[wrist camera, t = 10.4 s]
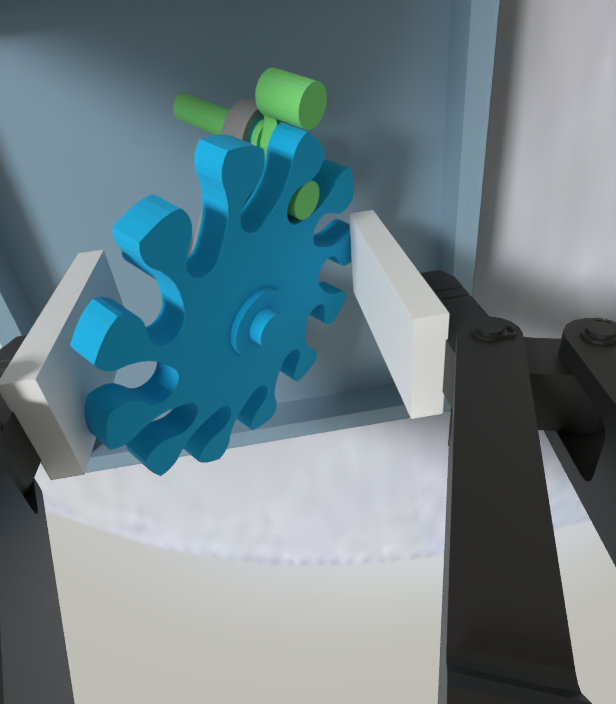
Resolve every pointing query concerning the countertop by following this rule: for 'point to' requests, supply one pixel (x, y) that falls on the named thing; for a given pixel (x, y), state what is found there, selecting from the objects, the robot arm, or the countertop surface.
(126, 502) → the countertop surface
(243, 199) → the gear
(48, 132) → the tray
